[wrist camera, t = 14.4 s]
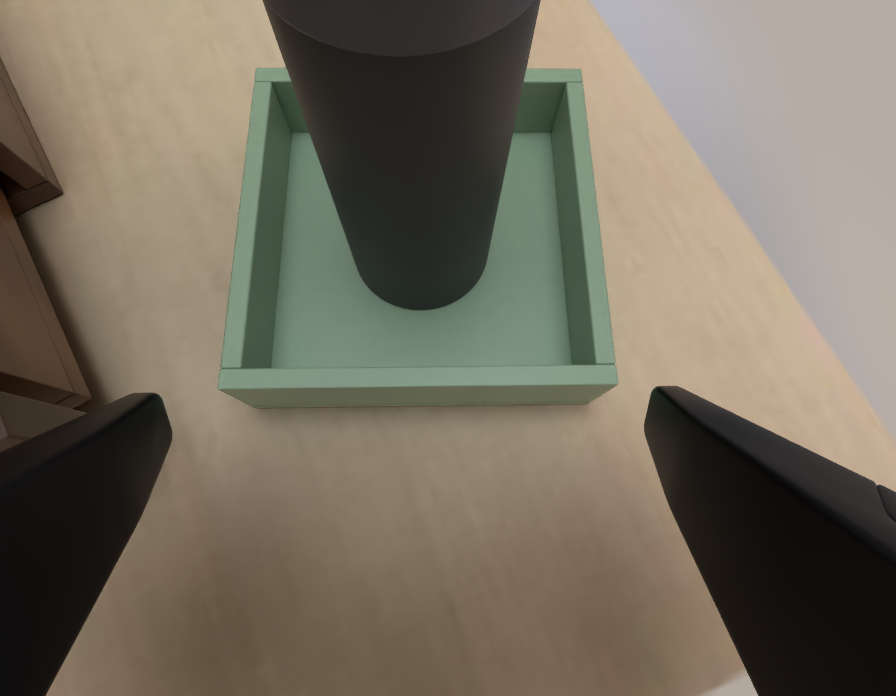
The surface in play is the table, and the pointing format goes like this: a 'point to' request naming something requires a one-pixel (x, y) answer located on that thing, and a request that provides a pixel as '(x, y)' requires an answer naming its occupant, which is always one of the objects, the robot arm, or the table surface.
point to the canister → (410, 128)
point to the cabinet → (21, 155)
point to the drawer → (31, 347)
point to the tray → (419, 331)
